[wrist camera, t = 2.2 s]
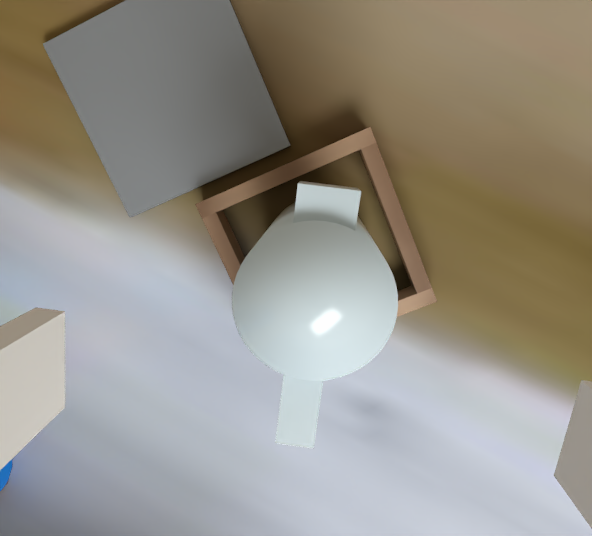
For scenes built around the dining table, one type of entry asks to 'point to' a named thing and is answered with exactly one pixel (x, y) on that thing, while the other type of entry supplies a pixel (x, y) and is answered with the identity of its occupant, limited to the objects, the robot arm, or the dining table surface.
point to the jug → (314, 301)
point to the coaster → (167, 96)
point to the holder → (361, 141)
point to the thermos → (5, 474)
